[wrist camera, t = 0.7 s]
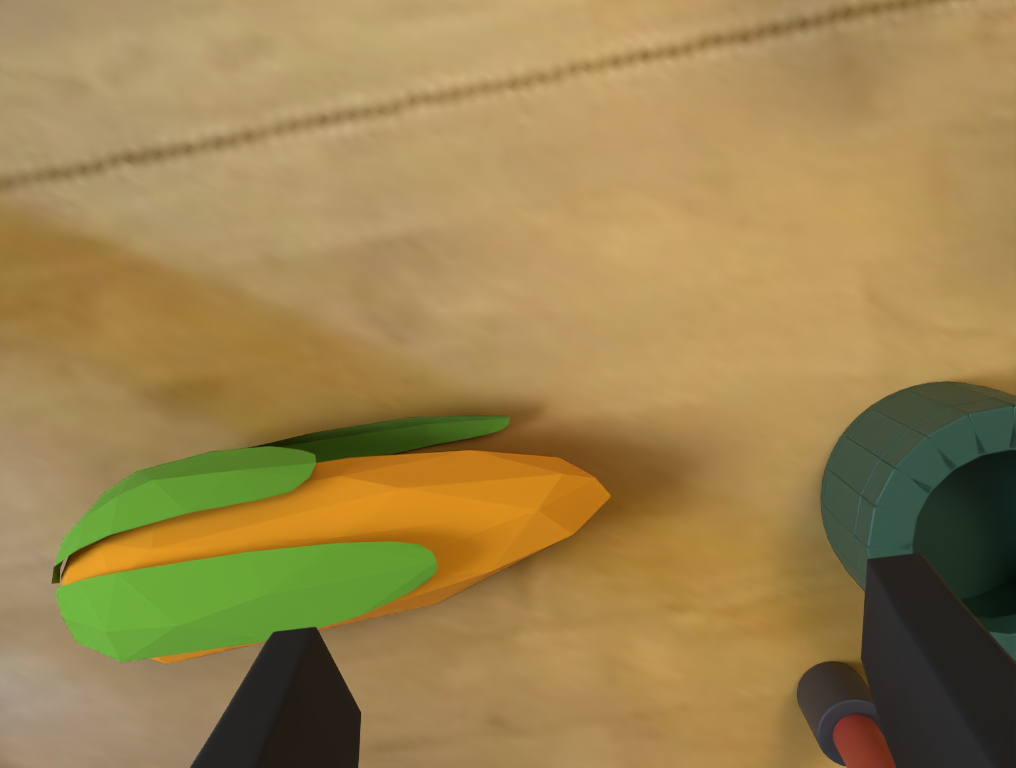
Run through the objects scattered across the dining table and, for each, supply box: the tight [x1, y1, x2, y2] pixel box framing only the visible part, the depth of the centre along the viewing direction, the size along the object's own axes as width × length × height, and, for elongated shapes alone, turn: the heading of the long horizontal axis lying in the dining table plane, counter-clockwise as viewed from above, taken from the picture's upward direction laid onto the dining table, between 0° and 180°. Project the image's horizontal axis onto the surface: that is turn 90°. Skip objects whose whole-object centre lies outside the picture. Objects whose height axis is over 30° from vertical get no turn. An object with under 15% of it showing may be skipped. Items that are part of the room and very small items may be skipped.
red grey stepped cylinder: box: [797, 662, 896, 768], centre depth 30 cm, size 3×3×8 cm
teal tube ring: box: [821, 382, 1016, 661], centre depth 30 cm, size 9×9×6 cm
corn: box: [52, 416, 611, 664], centre depth 31 cm, size 7×8×20 cm
